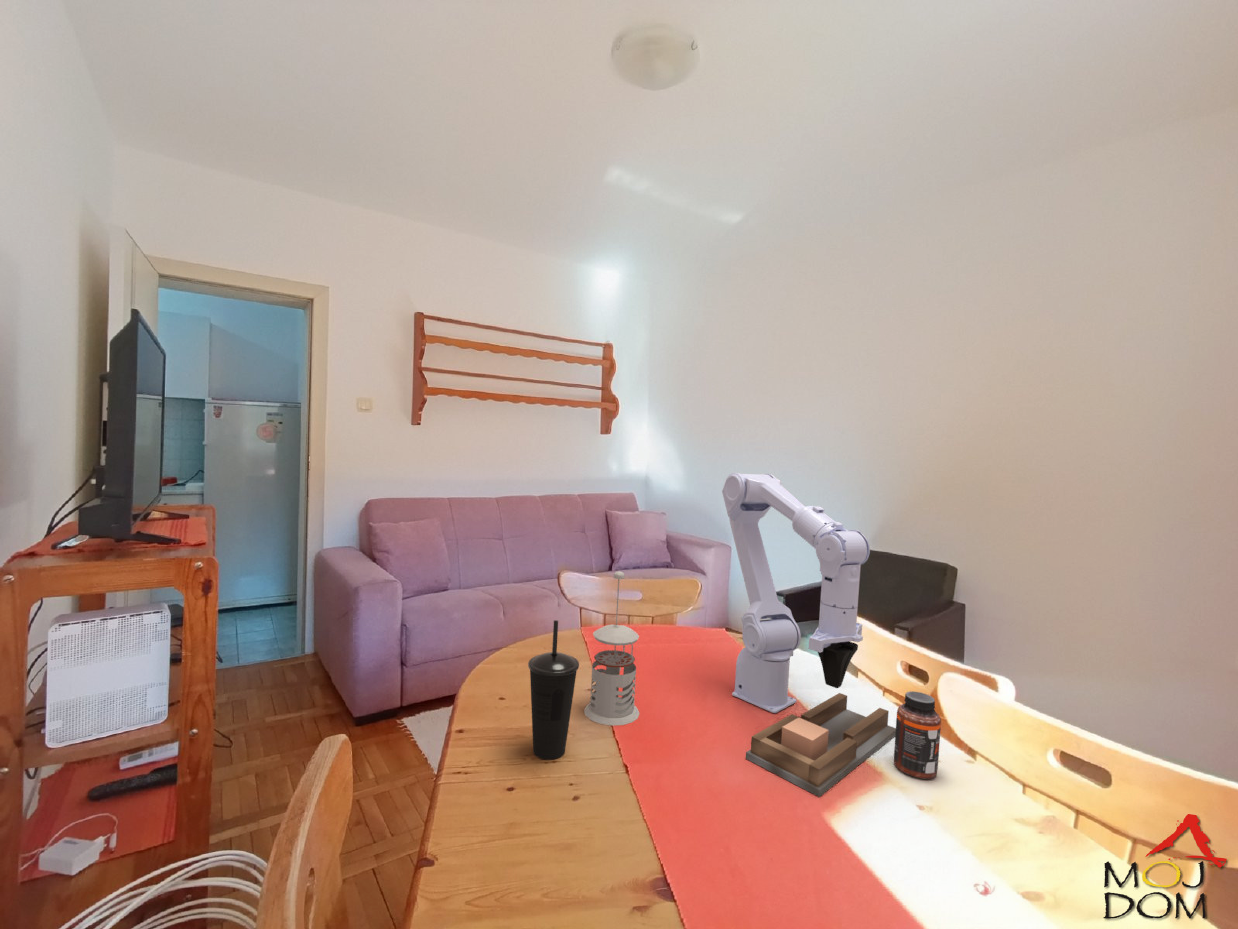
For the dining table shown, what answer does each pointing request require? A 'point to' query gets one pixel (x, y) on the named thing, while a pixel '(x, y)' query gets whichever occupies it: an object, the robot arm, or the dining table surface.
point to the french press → (613, 676)
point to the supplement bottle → (917, 736)
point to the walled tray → (846, 745)
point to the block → (805, 738)
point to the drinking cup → (551, 699)
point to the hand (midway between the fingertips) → (833, 685)
